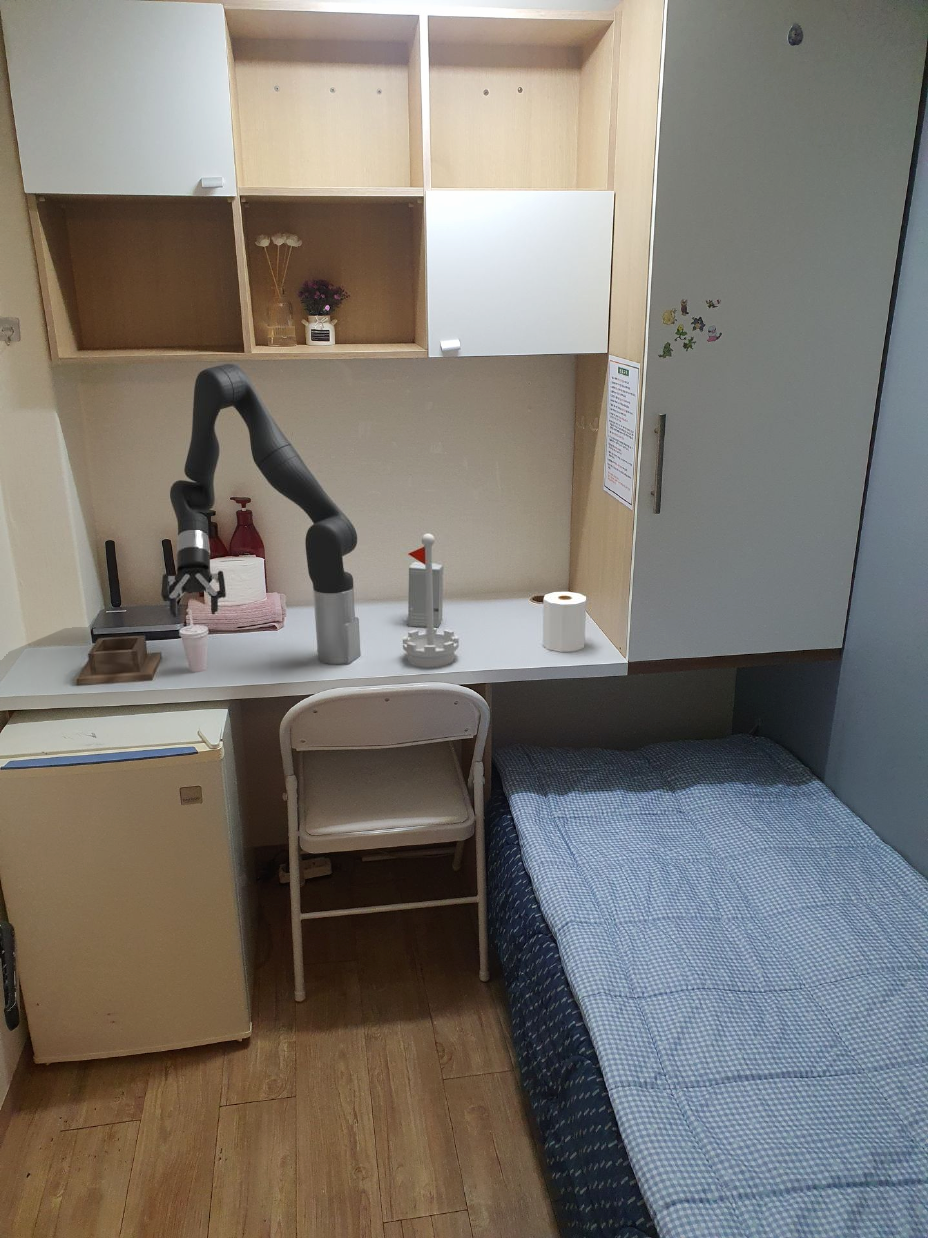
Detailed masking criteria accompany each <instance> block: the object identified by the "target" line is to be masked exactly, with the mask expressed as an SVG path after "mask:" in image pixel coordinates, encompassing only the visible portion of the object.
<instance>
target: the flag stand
mask: <svg viewBox="0 0 928 1238" xmlns="http://www.w3.org/2000/svg"><path fill="white" fill-rule="evenodd" d="M421 543H422V545H423V546H421V547H420V548H418V549H415V550H413V551H411V552H409V553H407V555H409V556H410V557H412V558H414V560H416V561H417V562H421V563H423V564H424V565H425V570H426V607H427V627H426V628H425V632H419V630H418V629H413V630H410V631H408V632H407V635H403V636H402V649H403V651H404V652H406V653H407V661H408V663H410V664H411V665H414V666H417V667H420V668H421V667H422V668H423V667H424V668H437V667H442V666H446V665H449V664H451V663H452V662H454V660H455V652H456V651H457V650H458V649H459V645H460V643H459V642H460V640H459V639H460V638H459V637H460V636H459V634H455V631H454V630H451V629H445V630H444V629H443V632H437V628H438V627H434V626H433V584H432V563H433V557H432V556H433V553H432V552H433V550H432V547H433V546H434V544H435V537H434V535H433V534H431V533H424V535H422V537H421Z"/></svg>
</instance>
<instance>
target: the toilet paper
mask: <svg viewBox="0 0 928 1238" xmlns="http://www.w3.org/2000/svg"><path fill="white" fill-rule="evenodd" d="M542 602H543V607H542V608H543V609H542V647H544V648H546V649H547V650H549V651H550V650H551V651H554V652H559V653H564V652H565V653H566V652H569V653H570V652H576V651H579V650H582V649H584V647H585V644H586V643H585V641H586V616H587V615H586V612H587V596H585V595H583V594H581V593H578V592H574V591H573V592H571V591H553V592H550V593H547V594H545V595H544V597H543V601H542Z"/></svg>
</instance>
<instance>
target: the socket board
mask: <svg viewBox="0 0 928 1238" xmlns="http://www.w3.org/2000/svg"><path fill="white" fill-rule="evenodd" d="M162 655H163V654H162V651H157V652H155V651H154V652H148V646H147V639H146V635H131V636H130V635H129V636H115V637H114V636H112V637H99V638H97V639H96V641H95V643H94V645H92V647H91V648H90V650H89V652H88V654H87V657H88V660H87V661H86V663H85V665H84V666H83V667H82V669H81V670H80V672H79V674H78V675H77V677H76V678H75V680H76V686H87V685H89V686H90V685H102V684H116V683H118V684H119V683H130V682H132V683H133V682H142V681H143V682H145V681H146V682H147V681H153V679H154V677H155V674H156V673H157V670H158V668H159V666H160V663H161V662H162V659H163V656H162Z"/></svg>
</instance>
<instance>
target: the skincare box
mask: <svg viewBox="0 0 928 1238" xmlns="http://www.w3.org/2000/svg"><path fill="white" fill-rule="evenodd" d="M432 584H433V626H434V628H439V627H440V625H441V623H442V622H443V603H444V602H443V601H444V600H443V599H444V598H443V597H444V596H443V595H444V563H434V562H432ZM407 601H408V603H407V604H408V605H407V606H408V609H407V610H408V611H407V612H408V615H407V616H408V617H407V619H408V621H407V625H408V627H418V628H419V627H421V628H422V627H423V628H425V627H426V628H427V607H426V570H425V565H424V564H423V563H421V562H420V561H414V562H412V563H411V564H410V565H409V567H408V600H407ZM441 621H442V622H441Z"/></svg>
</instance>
